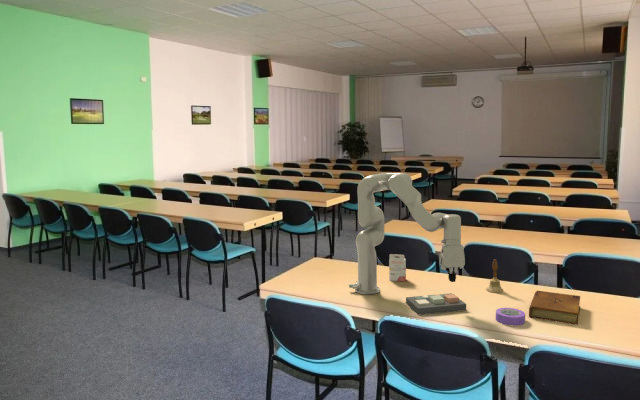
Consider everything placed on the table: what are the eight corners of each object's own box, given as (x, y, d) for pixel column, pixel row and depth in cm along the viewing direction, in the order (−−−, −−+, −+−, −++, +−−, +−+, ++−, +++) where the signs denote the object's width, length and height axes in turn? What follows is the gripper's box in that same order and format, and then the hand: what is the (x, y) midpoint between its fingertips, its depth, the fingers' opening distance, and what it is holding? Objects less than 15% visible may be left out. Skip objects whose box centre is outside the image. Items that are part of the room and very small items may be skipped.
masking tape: (501, 313, 219) (501, 305, 219) (528, 319, 212) (528, 311, 211) (491, 322, 210) (491, 313, 210) (519, 328, 203) (520, 319, 202)
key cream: (419, 309, 223) (419, 303, 223) (415, 305, 228) (415, 300, 227) (429, 308, 224) (429, 302, 223) (425, 304, 229) (425, 299, 228)
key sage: (433, 305, 224) (433, 299, 224) (429, 301, 229) (429, 296, 228) (444, 304, 225) (444, 298, 224) (439, 300, 230) (439, 295, 229)
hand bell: (498, 294, 244) (499, 262, 241) (482, 290, 250) (483, 259, 248) (506, 290, 249) (507, 259, 247) (491, 286, 255) (492, 256, 253)
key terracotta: (448, 303, 225) (448, 298, 225) (443, 300, 230) (443, 294, 230) (458, 302, 226) (458, 297, 226) (453, 299, 231) (453, 293, 231)
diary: (534, 302, 234) (535, 290, 233) (579, 308, 225) (580, 296, 224) (528, 318, 214) (529, 305, 213) (577, 325, 205) (578, 312, 204)
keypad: (417, 314, 219) (417, 306, 219) (405, 303, 234) (405, 295, 233) (466, 310, 223) (466, 302, 223) (451, 299, 238) (451, 291, 237)
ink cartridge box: (406, 278, 272) (406, 252, 269) (404, 281, 267) (404, 255, 265) (390, 277, 274) (390, 251, 272) (389, 280, 269) (388, 254, 267)
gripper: (440, 244, 219) (440, 285, 221) (471, 242, 222) (471, 282, 224) (433, 241, 226) (433, 280, 229) (463, 239, 229) (463, 277, 231)
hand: (452, 281), depth 226 cm, fingers closed
